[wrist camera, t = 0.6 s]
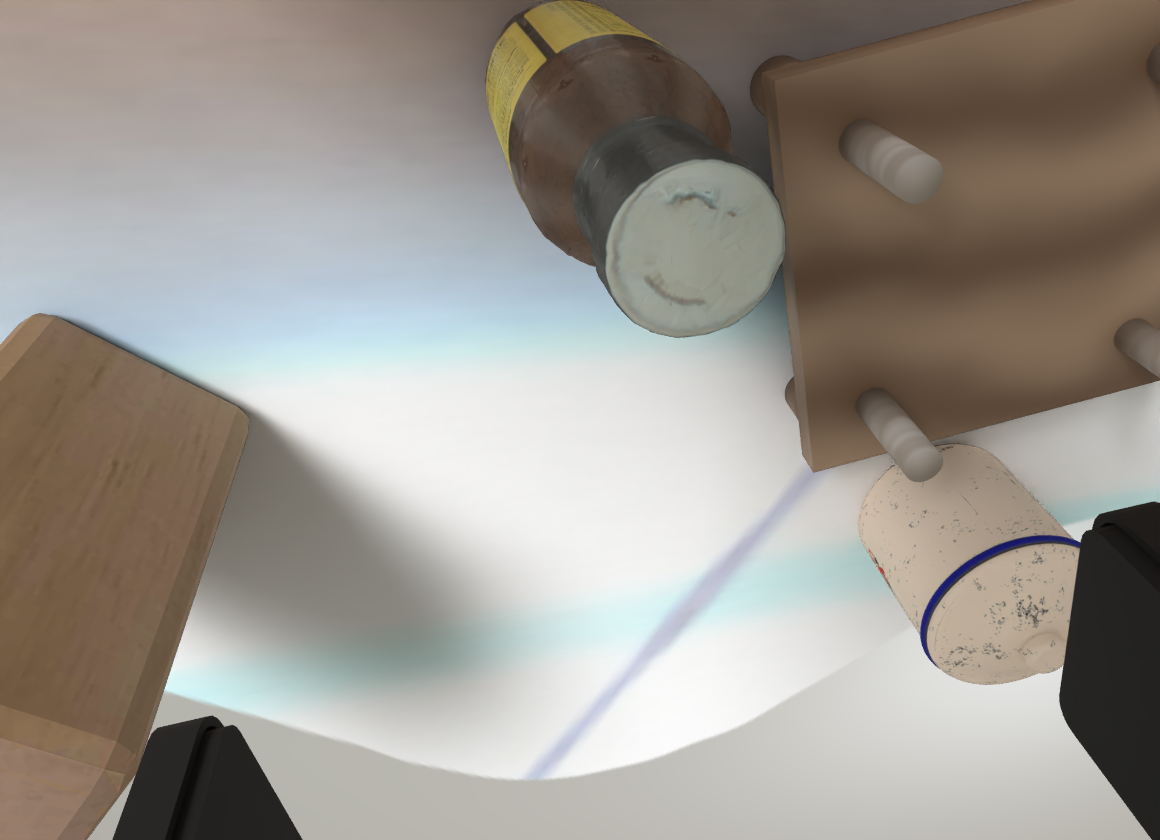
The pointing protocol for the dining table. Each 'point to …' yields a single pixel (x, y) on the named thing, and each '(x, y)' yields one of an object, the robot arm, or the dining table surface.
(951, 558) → the teacup with lid
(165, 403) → the wooden block
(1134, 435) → the dining table surface
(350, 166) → the dining table surface
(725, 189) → the sauce bottle
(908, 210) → the peg shelf
